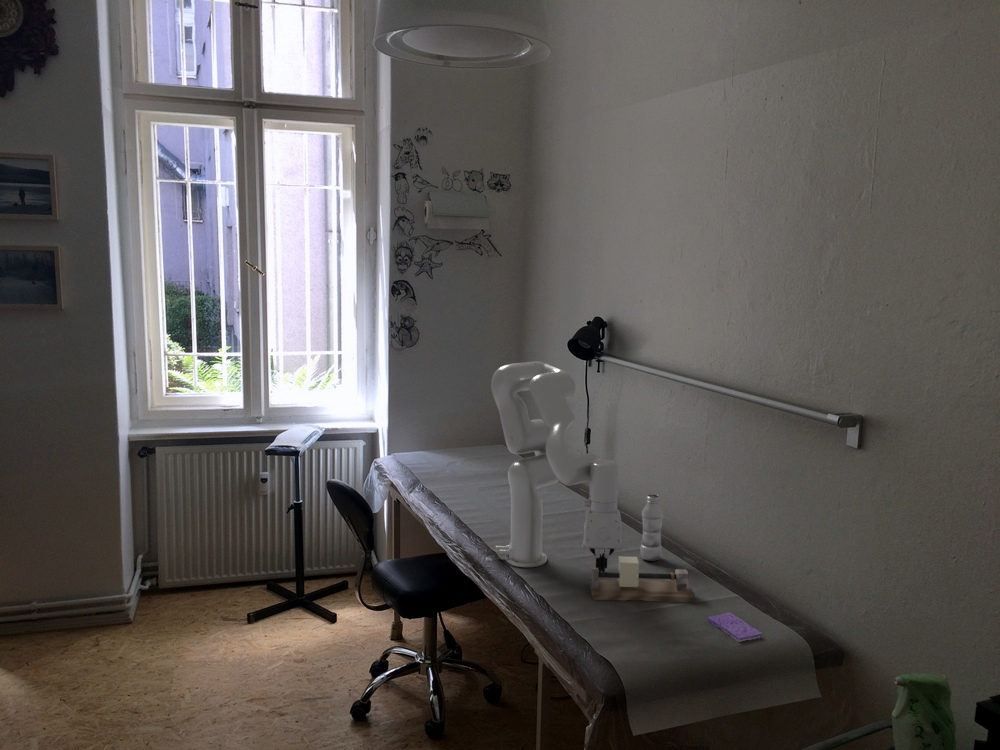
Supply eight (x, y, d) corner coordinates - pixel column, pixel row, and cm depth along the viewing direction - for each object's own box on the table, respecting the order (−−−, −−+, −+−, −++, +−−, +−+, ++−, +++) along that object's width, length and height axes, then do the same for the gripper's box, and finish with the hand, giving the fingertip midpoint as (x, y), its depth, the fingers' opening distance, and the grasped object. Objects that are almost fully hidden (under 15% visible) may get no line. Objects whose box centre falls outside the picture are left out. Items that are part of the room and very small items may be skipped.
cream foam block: (619, 586, 215) (620, 562, 214) (617, 579, 220) (618, 556, 219) (638, 587, 215) (639, 563, 214) (635, 580, 220) (636, 556, 219)
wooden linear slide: (592, 599, 213) (593, 576, 212) (589, 584, 223) (590, 562, 222) (693, 602, 212) (694, 579, 211) (686, 586, 222) (687, 564, 221)
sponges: (738, 644, 190) (739, 637, 190) (706, 622, 202) (706, 615, 202) (762, 640, 193) (762, 632, 193) (729, 618, 204) (729, 611, 204)
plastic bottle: (635, 557, 244) (637, 494, 241) (654, 554, 247) (657, 492, 244) (646, 564, 238) (649, 500, 235) (665, 561, 241) (668, 498, 238)
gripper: (576, 509, 211) (574, 575, 214) (632, 510, 211) (630, 576, 213) (574, 500, 219) (573, 564, 221) (629, 501, 218) (627, 565, 221)
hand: (601, 570), depth 217 cm, fingers closed
